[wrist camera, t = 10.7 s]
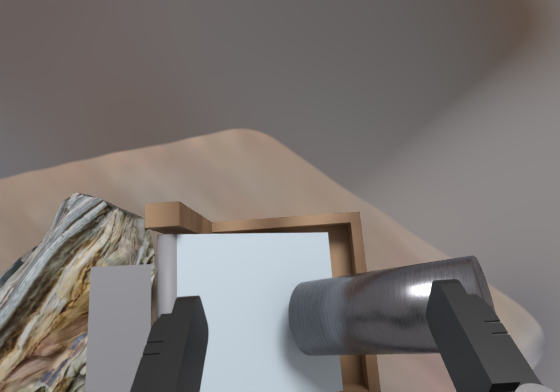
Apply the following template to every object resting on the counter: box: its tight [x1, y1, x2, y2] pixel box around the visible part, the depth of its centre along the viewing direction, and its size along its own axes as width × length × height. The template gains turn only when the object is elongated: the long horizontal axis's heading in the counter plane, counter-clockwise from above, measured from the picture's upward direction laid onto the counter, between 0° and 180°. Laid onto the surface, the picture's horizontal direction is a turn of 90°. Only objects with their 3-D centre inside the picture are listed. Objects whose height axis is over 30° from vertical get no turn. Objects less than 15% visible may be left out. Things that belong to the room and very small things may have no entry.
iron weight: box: [288, 256, 495, 356], centre depth 20 cm, size 4×4×10 cm
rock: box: [0, 193, 157, 392], centre depth 28 cm, size 23×7×15 cm
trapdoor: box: [85, 232, 343, 392], centre depth 22 cm, size 15×10×2 cm
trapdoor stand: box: [145, 201, 381, 392], centre depth 25 cm, size 15×14×12 cm
